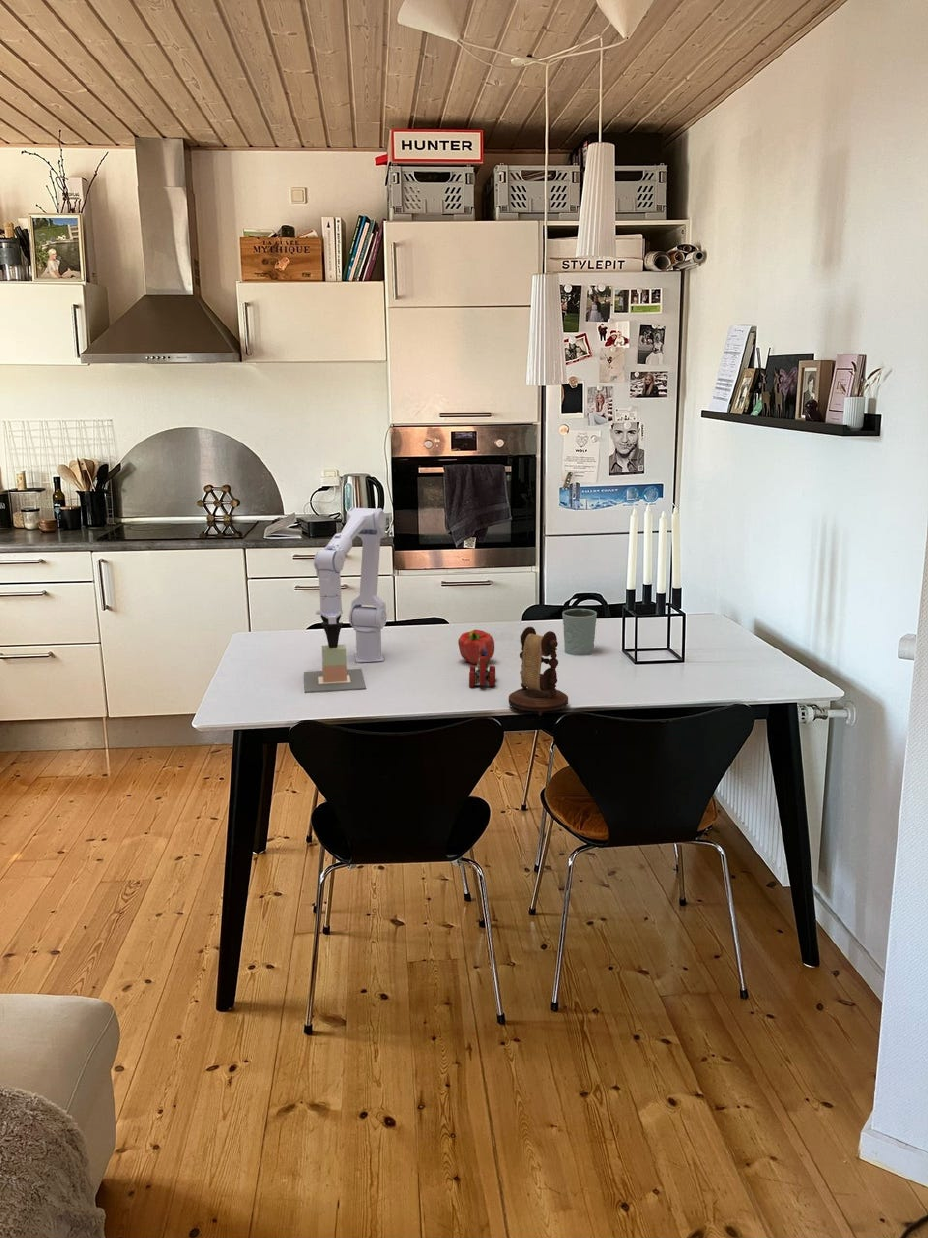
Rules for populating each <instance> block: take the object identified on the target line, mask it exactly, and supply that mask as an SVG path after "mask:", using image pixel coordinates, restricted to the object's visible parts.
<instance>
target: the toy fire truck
mask: <svg viewBox="0 0 928 1238" xmlns="http://www.w3.org/2000/svg"><path fill="white" fill-rule="evenodd" d="M486 655H487V650H486V642H480V657H479V659H478V664H476V665H470V666H469V673H468V675H469V676H468V687H470V686H474V687H475V686H476V685H480V686H486V682H488V687H490V686H494V687H495V685H496V665H490V666H489V662H487V660H486ZM476 667H477V669H476ZM488 668H489V669H488Z"/></svg>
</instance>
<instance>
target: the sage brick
mask: <svg viewBox="0 0 928 1238" xmlns="http://www.w3.org/2000/svg"><path fill="white" fill-rule="evenodd" d="M347 661H348V660H347V647H346V644H338V646H337V648H329V646H328V644H327V645H321V665H322V664H323V666H336V665H347V664H348V663H347Z"/></svg>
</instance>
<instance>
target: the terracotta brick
mask: <svg viewBox="0 0 928 1238" xmlns="http://www.w3.org/2000/svg"><path fill="white" fill-rule="evenodd" d="M347 668H348V667H347V665H336V666H323V664H322V663H321V669H322V670H321V671H322V673H323V682H337V681H347Z"/></svg>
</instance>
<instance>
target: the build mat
mask: <svg viewBox="0 0 928 1238" xmlns="http://www.w3.org/2000/svg"><path fill="white" fill-rule="evenodd" d="M303 682H304V683H303V684H304V693H305V694H313V693H324V692H325V693H327V692H343V691H344V692H346V691H358V689H362V690H367V686H366V682H365V678H364V674H363V670H362V668H352V669H351V668H348V669H347V681H337V682H323V673H322V670H318V671H317V670H316V671H315V670H314V671H304V672H303Z"/></svg>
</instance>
